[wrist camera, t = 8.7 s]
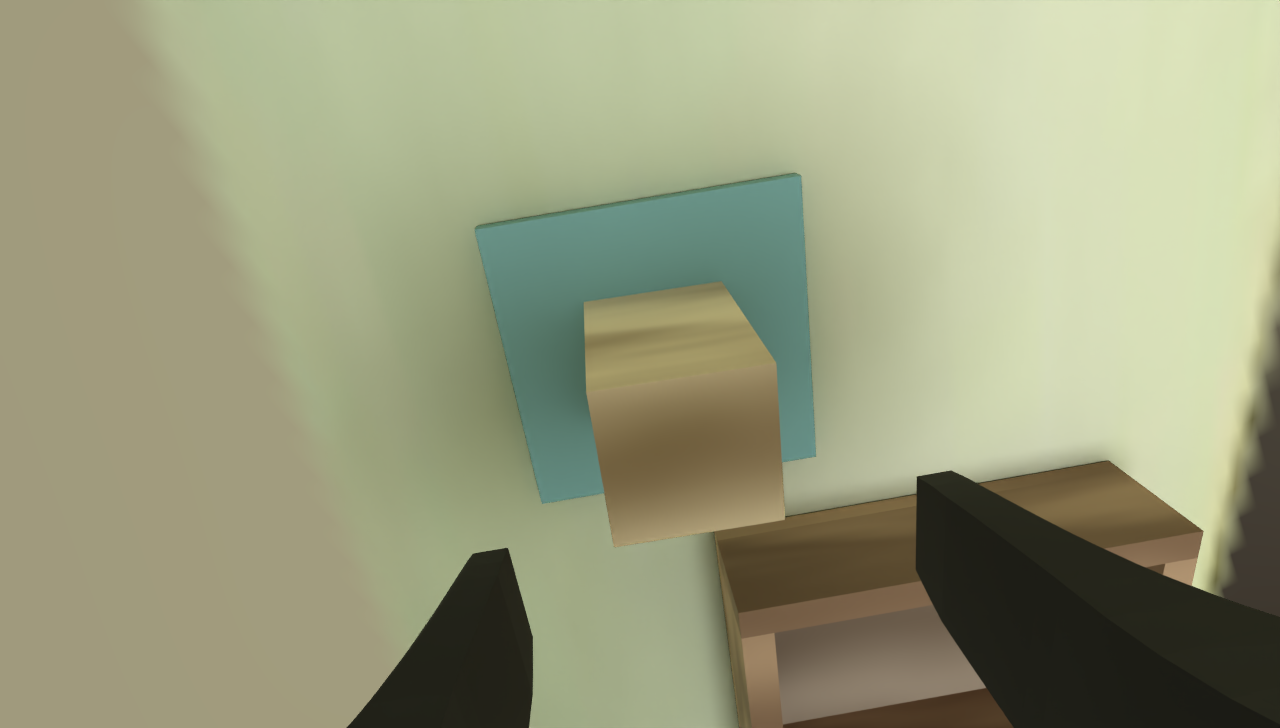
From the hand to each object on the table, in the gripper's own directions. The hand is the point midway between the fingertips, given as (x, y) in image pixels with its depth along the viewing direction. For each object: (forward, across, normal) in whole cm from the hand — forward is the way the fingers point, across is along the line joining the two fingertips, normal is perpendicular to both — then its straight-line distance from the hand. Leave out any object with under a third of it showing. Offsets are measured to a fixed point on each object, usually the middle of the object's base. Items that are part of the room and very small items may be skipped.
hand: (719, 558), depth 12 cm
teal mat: (+10, 0, 0) cm, 10 cm away
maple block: (+9, 0, 0) cm, 9 cm away
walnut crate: (+10, -8, +12) cm, 17 cm away
